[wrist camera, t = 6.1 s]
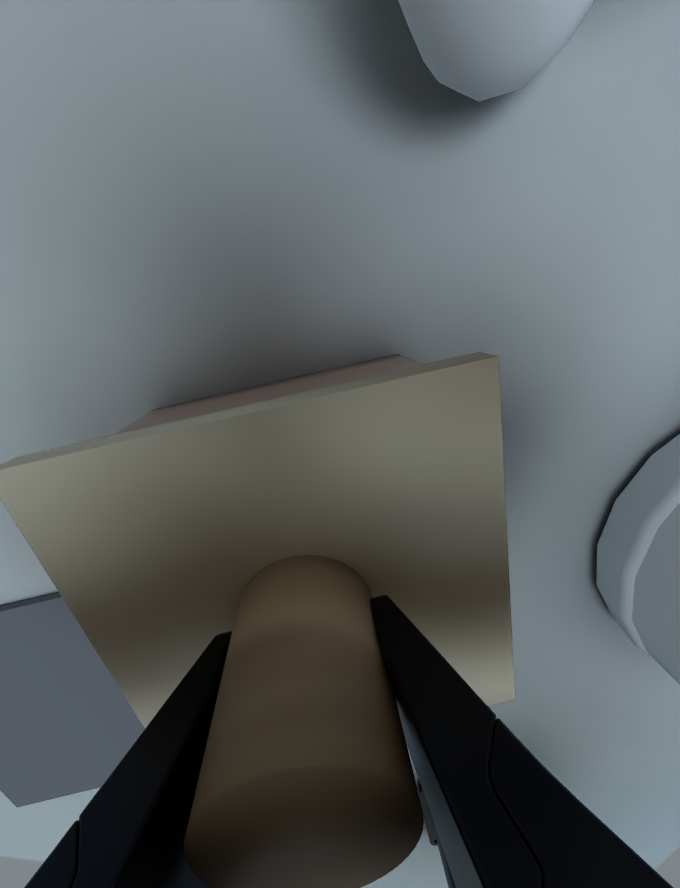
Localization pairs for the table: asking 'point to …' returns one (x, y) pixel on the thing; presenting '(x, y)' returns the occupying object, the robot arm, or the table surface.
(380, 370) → the pink open box
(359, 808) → the lid
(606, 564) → the bottle
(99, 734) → the mat
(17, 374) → the table surface
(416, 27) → the white decorative knot
